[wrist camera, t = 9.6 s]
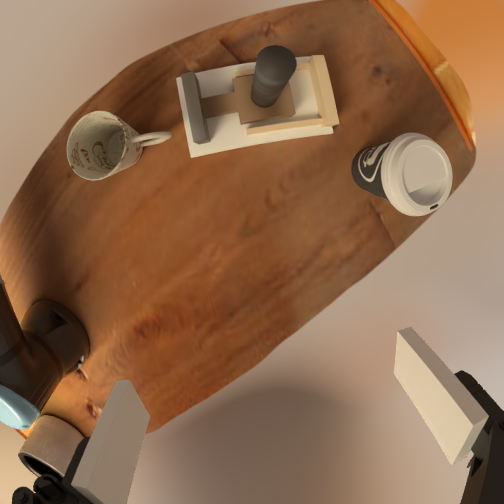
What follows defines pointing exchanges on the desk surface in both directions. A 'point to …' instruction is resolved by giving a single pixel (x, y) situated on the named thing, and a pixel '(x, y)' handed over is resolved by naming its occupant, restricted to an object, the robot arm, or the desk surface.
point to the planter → (50, 447)
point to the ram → (245, 94)
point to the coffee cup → (406, 173)
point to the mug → (106, 145)
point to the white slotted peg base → (299, 125)
